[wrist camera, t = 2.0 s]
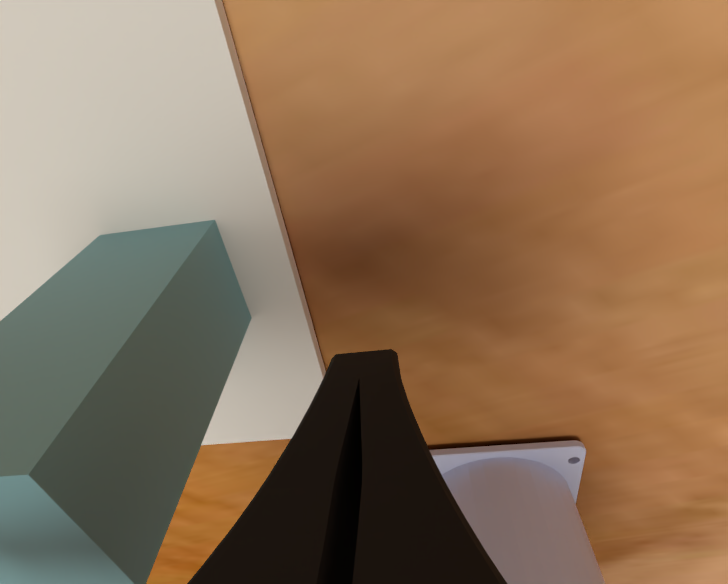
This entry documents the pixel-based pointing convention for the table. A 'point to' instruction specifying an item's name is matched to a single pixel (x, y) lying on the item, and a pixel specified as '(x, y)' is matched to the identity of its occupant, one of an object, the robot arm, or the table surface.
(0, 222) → the white mat
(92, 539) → the teal block
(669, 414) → the table surface
